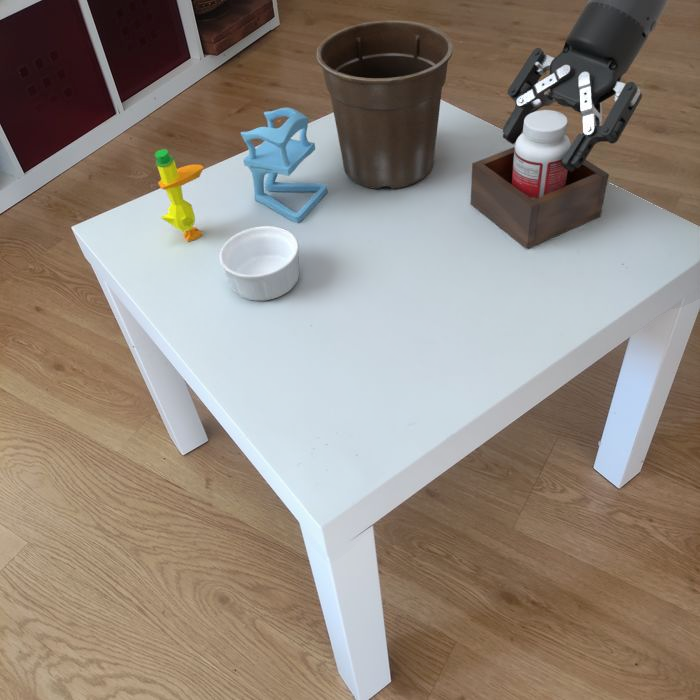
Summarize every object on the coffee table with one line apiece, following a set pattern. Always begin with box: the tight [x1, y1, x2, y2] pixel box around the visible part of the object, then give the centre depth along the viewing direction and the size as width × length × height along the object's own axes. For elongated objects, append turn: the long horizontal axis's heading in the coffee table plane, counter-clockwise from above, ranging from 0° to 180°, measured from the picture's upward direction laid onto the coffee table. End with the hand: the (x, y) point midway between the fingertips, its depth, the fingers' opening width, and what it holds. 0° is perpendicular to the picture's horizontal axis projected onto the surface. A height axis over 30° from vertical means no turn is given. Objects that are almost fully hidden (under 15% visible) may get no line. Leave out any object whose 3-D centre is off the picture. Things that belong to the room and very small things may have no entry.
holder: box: [470, 146, 610, 250], centre depth 86 cm, size 11×11×6 cm
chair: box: [240, 107, 329, 223], centre depth 89 cm, size 8×8×12 cm
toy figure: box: [154, 148, 204, 243], centre depth 86 cm, size 7×4×12 cm, turn 125°
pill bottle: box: [512, 109, 572, 200], centre depth 83 cm, size 6×6×11 cm
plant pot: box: [316, 20, 454, 190], centre depth 91 cm, size 16×16×16 cm
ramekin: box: [218, 225, 300, 302], centre depth 81 cm, size 9×9×4 cm
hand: (536, 154), depth 82 cm, fingers open, 8 cm apart
